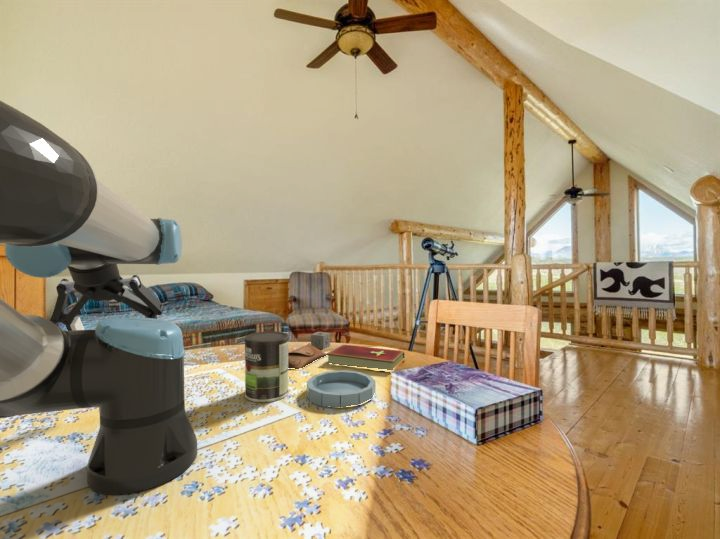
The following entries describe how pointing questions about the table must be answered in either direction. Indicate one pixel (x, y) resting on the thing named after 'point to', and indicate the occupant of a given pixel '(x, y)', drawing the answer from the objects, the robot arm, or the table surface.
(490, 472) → the table surface
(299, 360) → the sunglasses case
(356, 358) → the hardcover book
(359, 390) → the bowl
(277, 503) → the table surface
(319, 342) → the dice cube
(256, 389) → the coffee can
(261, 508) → the table surface
